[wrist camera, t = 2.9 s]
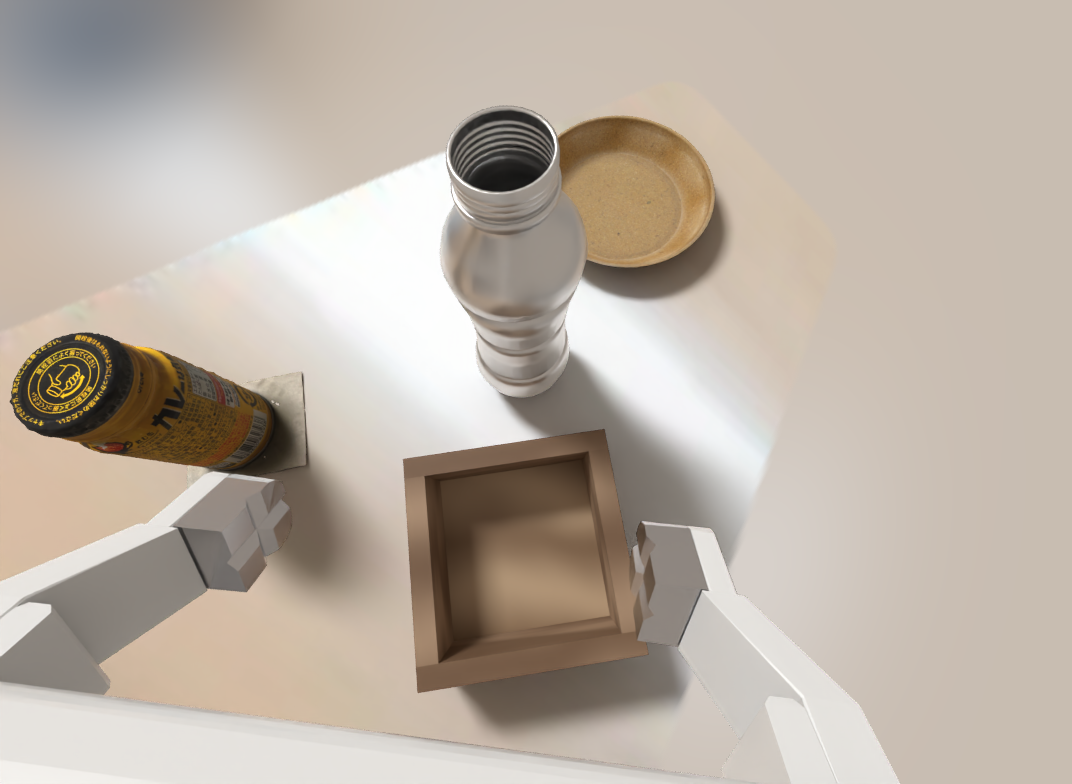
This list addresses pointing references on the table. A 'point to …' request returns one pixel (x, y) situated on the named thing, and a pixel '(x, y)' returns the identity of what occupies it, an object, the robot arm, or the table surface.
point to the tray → (517, 561)
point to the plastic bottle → (512, 246)
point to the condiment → (160, 408)
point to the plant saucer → (635, 189)
